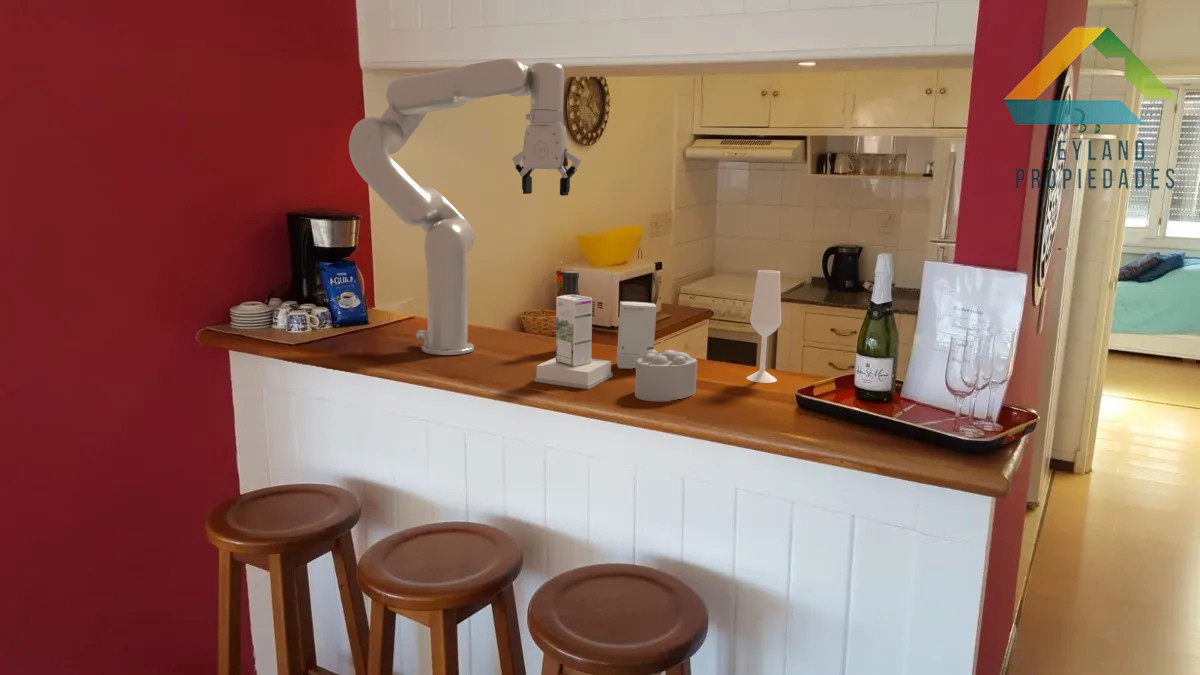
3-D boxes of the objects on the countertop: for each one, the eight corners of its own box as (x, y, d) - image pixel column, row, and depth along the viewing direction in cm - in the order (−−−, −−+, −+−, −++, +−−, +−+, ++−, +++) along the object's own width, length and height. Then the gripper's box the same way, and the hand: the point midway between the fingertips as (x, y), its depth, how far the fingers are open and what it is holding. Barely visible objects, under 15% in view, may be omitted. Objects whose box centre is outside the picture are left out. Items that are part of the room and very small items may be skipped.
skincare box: (617, 369, 197) (619, 304, 194) (616, 362, 203) (618, 300, 200) (654, 369, 198) (657, 305, 195) (651, 363, 204) (654, 301, 201)
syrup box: (592, 363, 187) (594, 296, 184) (572, 367, 182) (574, 299, 180) (573, 358, 191) (575, 293, 188) (554, 362, 186) (555, 295, 184)
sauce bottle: (578, 355, 210) (580, 274, 206) (553, 353, 211) (554, 272, 207) (584, 349, 216) (585, 270, 212) (559, 348, 217) (561, 269, 214)
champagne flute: (781, 382, 189) (789, 273, 184) (752, 383, 188) (759, 273, 183) (770, 375, 196) (778, 269, 191) (742, 375, 194) (748, 269, 190)
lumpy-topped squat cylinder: (702, 394, 178) (704, 353, 176) (660, 405, 169) (662, 362, 167) (664, 384, 185) (666, 344, 183) (622, 394, 176) (623, 352, 174)
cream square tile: (534, 381, 184) (534, 365, 183) (561, 369, 195) (561, 354, 194) (588, 389, 179) (588, 372, 178) (612, 376, 190) (612, 360, 190)
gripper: (505, 118, 199) (505, 193, 202) (573, 118, 192) (571, 196, 196) (521, 119, 206) (520, 192, 209) (587, 120, 199) (585, 195, 202)
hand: (545, 194), depth 202 cm, fingers open, 9 cm apart
